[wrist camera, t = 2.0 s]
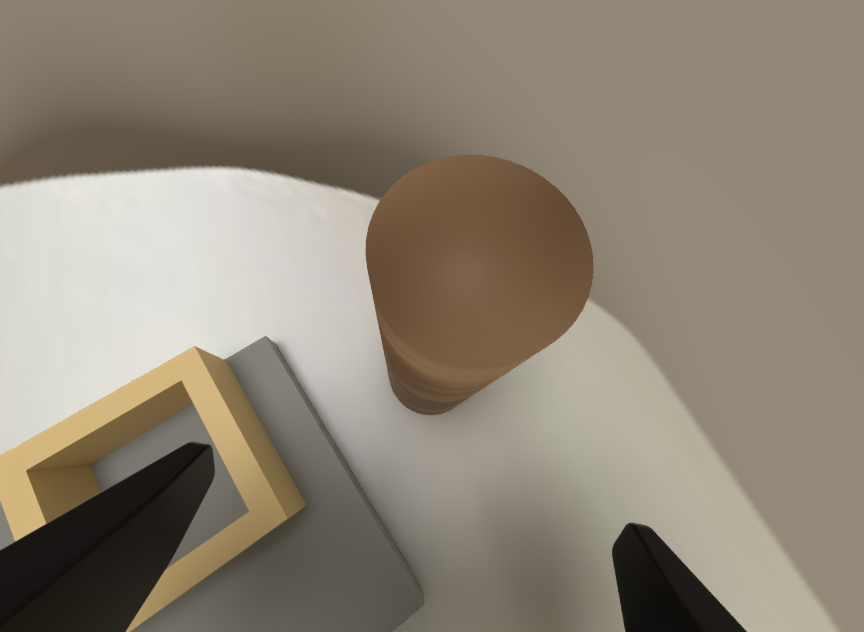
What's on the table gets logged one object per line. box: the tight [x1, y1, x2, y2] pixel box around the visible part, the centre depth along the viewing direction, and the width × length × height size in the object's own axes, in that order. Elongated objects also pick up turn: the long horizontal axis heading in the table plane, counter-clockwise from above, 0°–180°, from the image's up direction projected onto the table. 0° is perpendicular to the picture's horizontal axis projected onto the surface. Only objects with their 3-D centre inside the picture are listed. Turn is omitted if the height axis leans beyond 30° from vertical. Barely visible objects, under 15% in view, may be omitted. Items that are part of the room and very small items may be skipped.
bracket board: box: [0, 336, 424, 632], centre depth 14 cm, size 14×20×4 cm
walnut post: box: [366, 155, 593, 415], centre depth 14 cm, size 4×4×14 cm
